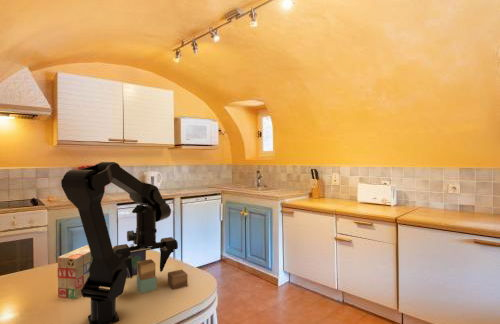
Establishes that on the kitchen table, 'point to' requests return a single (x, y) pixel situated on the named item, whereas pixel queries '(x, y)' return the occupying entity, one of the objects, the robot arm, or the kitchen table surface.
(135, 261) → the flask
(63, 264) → the stack of blocks
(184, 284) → the walnut block
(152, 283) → the tower base
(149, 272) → the oak cube
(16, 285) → the kitchen table surface
